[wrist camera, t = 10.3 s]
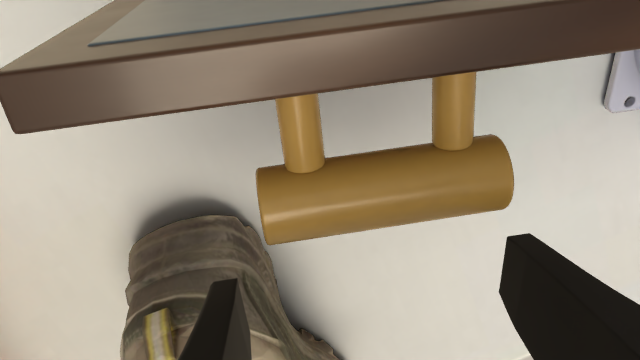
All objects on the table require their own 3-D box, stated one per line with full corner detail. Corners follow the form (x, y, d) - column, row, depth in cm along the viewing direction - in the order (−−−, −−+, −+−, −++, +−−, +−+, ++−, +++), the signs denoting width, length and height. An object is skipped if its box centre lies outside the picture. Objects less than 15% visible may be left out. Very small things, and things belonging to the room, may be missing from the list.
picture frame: (757, -29, 8) (688, 207, 10) (467, -60, 19) (463, 58, 21) (-16, 72, 7) (83, 303, 9) (143, -20, 18) (173, 97, 20)
